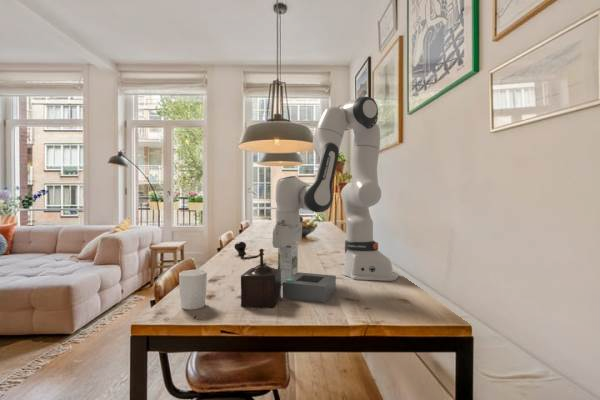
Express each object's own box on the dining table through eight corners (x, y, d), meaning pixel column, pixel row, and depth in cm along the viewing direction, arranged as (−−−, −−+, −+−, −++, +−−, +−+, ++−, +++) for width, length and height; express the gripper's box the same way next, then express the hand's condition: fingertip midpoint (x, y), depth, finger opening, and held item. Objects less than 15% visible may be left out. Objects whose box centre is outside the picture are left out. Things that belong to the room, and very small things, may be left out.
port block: (335, 290, 108) (335, 273, 108) (324, 302, 95) (324, 284, 95) (298, 286, 113) (298, 270, 113) (282, 297, 100) (282, 280, 100)
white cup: (199, 299, 98) (199, 268, 98) (211, 305, 93) (211, 272, 92) (174, 305, 93) (174, 272, 93) (186, 312, 87) (186, 277, 87)
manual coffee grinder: (282, 296, 101) (282, 241, 101) (274, 309, 90) (274, 246, 90) (237, 294, 104) (237, 240, 103) (223, 305, 93) (223, 245, 92)
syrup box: (283, 278, 121) (283, 241, 120) (298, 280, 118) (298, 242, 118) (277, 282, 115) (277, 243, 115) (292, 284, 113) (292, 244, 113)
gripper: (284, 221, 106) (284, 262, 106) (304, 217, 125) (305, 252, 125) (267, 221, 108) (268, 261, 108) (290, 217, 127) (290, 251, 127)
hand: (288, 256), depth 117 cm, fingers closed on syrup box, 6 cm apart
